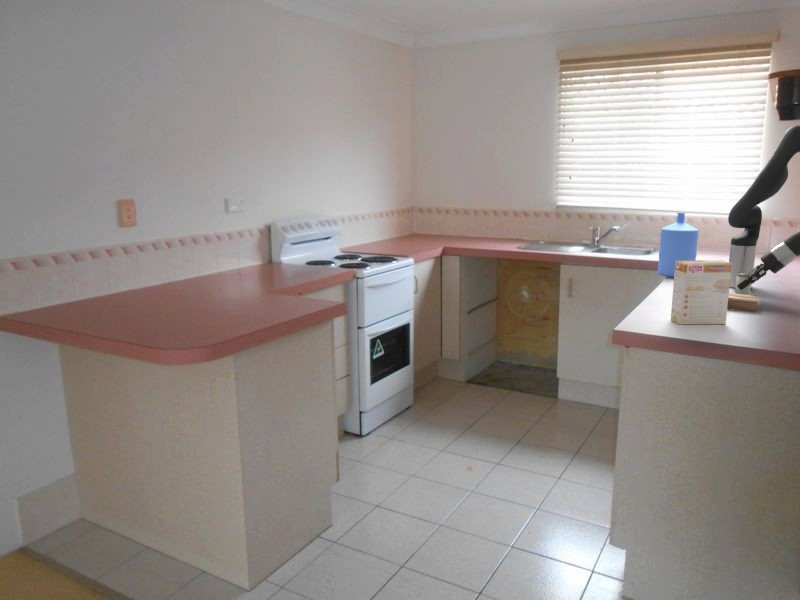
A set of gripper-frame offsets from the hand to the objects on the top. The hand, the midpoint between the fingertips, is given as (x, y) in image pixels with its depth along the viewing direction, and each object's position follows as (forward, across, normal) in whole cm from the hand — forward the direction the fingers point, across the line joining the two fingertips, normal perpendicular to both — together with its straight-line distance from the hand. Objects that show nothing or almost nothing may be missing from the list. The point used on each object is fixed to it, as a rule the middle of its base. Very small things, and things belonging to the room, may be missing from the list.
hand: (739, 286), depth 242 cm
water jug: (+23, -50, -15) cm, 57 cm away
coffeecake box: (+11, +45, -3) cm, 46 cm away
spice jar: (+3, 0, +5) cm, 5 cm away
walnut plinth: (+3, +14, +5) cm, 15 cm away
